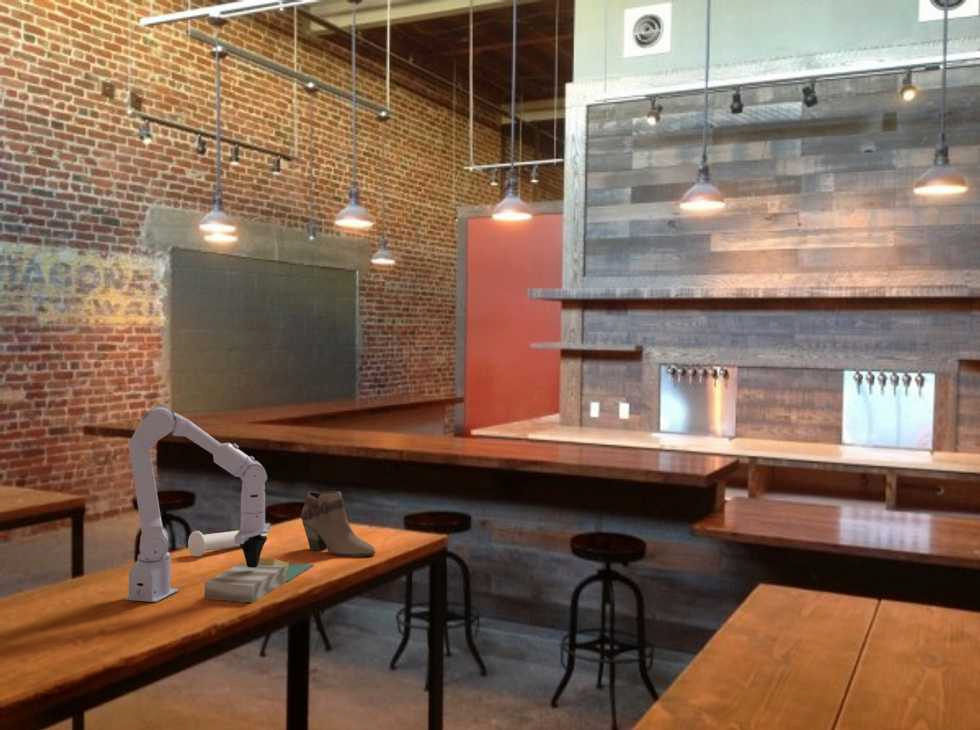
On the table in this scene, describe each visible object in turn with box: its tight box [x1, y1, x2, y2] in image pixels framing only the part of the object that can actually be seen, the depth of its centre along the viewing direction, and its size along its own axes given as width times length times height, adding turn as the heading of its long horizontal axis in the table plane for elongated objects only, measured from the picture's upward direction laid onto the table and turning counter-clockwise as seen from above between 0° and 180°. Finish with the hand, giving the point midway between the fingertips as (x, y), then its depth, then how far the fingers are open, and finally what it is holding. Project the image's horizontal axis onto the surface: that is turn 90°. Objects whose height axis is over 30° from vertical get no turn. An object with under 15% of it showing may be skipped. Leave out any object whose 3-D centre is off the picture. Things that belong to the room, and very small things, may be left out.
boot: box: [300, 490, 376, 558], centre depth 247 cm, size 8×24×17 cm, turn 72°
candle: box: [187, 530, 269, 558], centre depth 249 cm, size 7×7×25 cm
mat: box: [285, 562, 314, 583], centre depth 225 cm, size 16×13×1 cm
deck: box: [204, 562, 287, 604], centre depth 209 cm, size 18×12×4 cm, turn 169°
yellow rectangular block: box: [258, 557, 290, 571], centre depth 222 cm, size 9×6×2 cm, turn 168°
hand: (252, 566), depth 212 cm, fingers closed
